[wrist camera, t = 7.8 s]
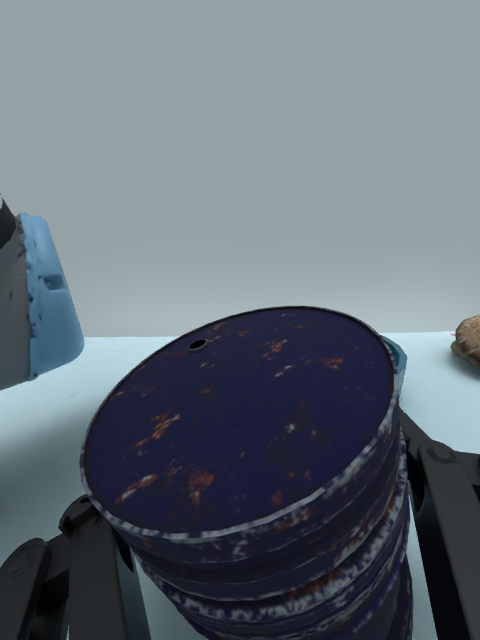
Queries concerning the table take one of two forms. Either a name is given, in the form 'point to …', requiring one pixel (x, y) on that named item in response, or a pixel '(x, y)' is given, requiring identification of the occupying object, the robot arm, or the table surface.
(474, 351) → the mushroom
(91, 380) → the table surface
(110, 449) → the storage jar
